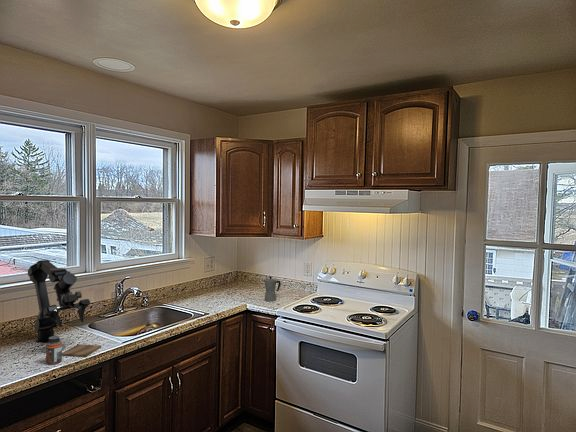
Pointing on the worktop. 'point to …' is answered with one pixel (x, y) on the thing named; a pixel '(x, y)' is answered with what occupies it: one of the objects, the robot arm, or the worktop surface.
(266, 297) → the coffeepot
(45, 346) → the slate coaster
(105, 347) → the worktop surface
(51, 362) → the supplement bottle
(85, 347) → the walnut coaster
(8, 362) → the worktop surface
